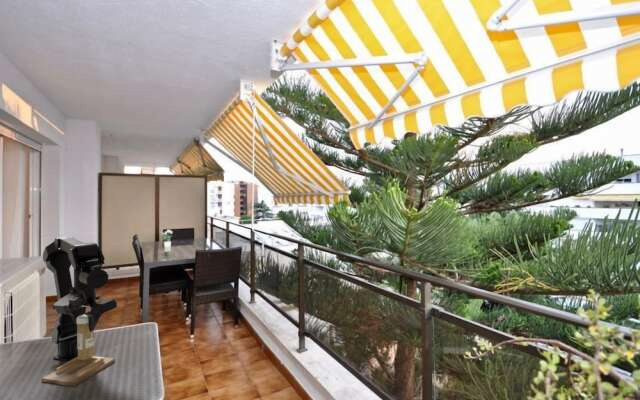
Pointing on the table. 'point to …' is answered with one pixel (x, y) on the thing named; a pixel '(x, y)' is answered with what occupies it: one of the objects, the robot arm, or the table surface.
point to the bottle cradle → (77, 370)
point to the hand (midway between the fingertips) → (85, 330)
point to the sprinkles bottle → (84, 338)
